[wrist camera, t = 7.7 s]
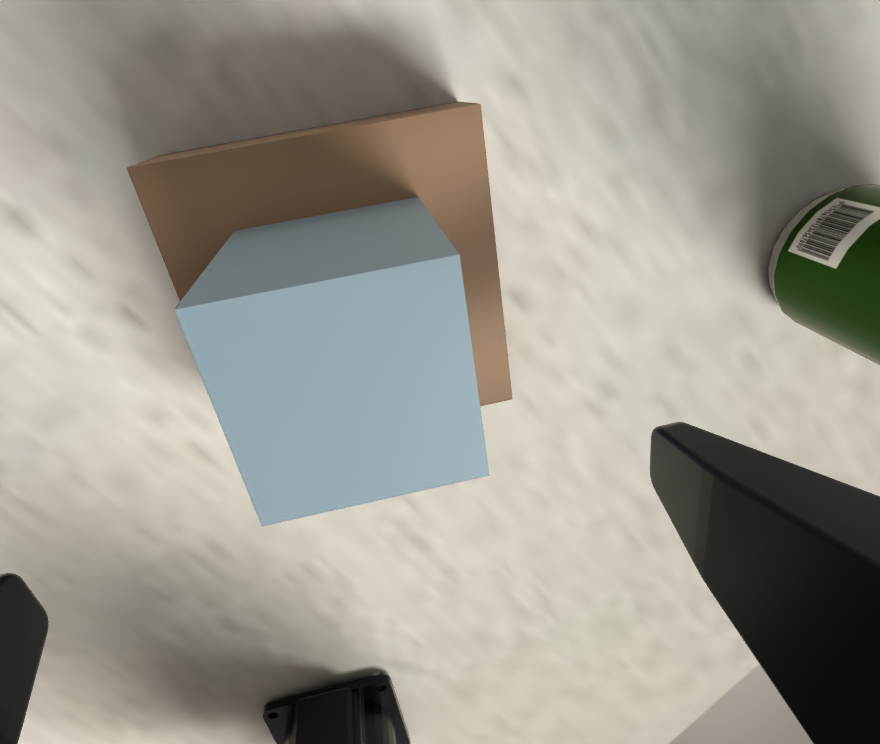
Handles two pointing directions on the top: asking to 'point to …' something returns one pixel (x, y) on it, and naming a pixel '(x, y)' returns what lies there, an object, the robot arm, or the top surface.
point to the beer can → (833, 268)
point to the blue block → (339, 359)
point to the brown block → (341, 200)
